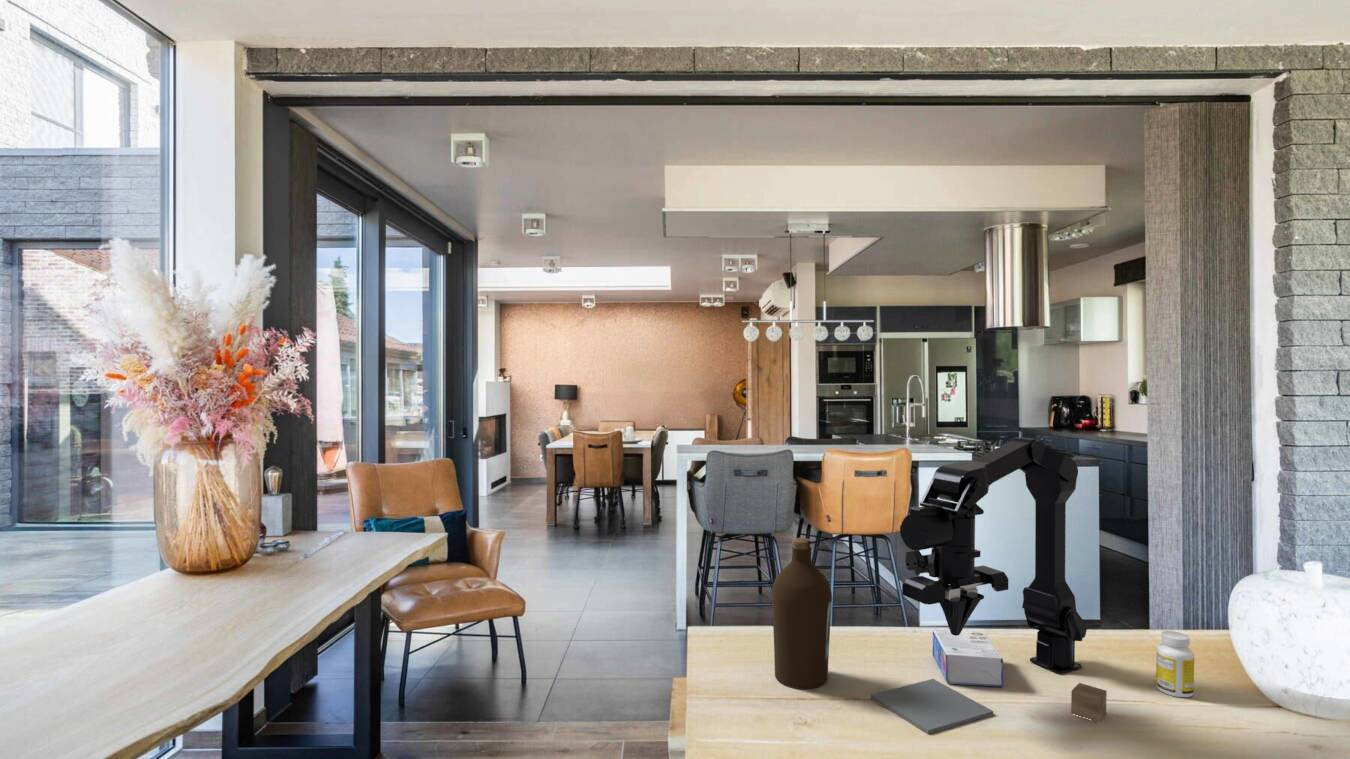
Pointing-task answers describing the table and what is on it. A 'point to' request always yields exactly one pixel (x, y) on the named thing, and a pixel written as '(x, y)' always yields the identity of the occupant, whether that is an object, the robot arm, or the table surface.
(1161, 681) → the supplement bottle
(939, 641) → the ink cartridge box
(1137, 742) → the table surface
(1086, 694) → the walnut block
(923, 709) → the mat
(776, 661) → the olive oil
